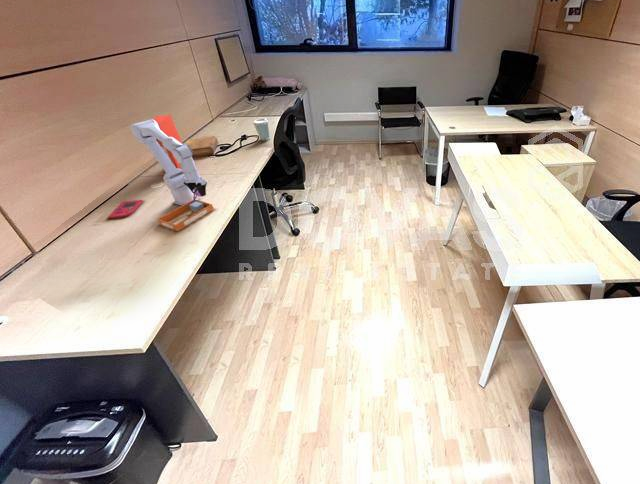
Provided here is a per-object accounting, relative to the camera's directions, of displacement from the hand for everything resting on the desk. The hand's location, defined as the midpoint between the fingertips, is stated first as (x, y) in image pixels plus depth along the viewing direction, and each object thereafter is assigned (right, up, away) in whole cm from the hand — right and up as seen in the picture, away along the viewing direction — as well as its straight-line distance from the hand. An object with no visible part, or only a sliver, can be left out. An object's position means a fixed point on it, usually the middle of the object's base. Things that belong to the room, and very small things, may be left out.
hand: (199, 194), depth 160 cm
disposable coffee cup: (-5, +46, +88) cm, 100 cm away
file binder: (-43, +18, +46) cm, 65 cm away
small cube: (-2, -8, +2) cm, 9 cm away
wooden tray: (-4, -12, -2) cm, 13 cm away
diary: (-43, +34, +70) cm, 89 cm away
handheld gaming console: (-40, -8, +4) cm, 41 cm away
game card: (0, -1, +1) cm, 2 cm away
